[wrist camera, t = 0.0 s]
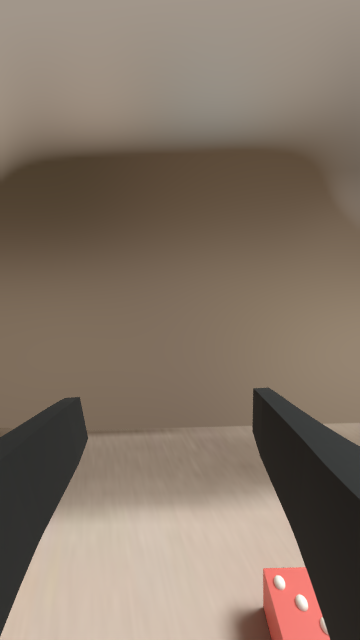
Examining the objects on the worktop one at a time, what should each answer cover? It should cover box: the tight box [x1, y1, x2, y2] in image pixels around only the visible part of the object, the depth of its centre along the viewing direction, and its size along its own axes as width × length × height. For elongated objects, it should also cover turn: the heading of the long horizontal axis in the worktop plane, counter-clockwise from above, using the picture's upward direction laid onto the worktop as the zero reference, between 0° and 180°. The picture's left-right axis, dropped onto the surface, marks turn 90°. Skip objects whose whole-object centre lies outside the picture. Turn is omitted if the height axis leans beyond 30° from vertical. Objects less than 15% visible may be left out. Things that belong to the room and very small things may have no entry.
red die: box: [263, 567, 330, 640], centre depth 16 cm, size 4×4×4 cm
